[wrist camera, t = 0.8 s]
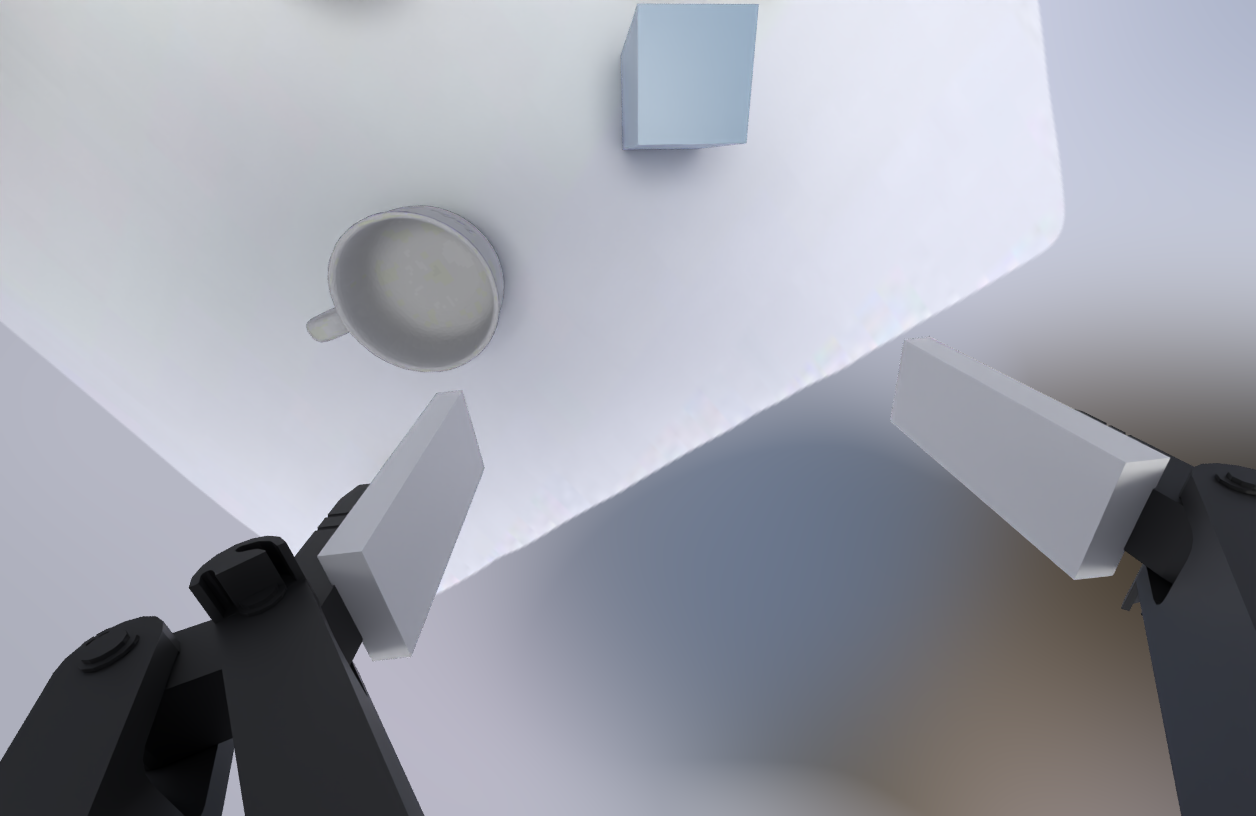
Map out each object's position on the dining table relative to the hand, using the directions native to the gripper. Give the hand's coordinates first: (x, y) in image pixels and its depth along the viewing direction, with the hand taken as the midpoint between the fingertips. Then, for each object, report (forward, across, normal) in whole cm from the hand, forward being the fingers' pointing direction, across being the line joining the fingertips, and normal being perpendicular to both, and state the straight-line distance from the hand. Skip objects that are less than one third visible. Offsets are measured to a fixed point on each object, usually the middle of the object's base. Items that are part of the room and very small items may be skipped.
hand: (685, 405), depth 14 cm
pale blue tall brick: (+27, +3, +10) cm, 29 cm away
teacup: (+27, -17, 0) cm, 32 cm away
